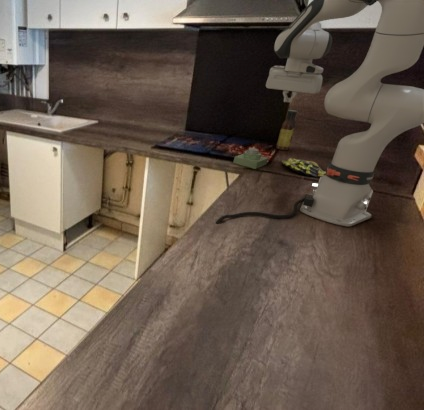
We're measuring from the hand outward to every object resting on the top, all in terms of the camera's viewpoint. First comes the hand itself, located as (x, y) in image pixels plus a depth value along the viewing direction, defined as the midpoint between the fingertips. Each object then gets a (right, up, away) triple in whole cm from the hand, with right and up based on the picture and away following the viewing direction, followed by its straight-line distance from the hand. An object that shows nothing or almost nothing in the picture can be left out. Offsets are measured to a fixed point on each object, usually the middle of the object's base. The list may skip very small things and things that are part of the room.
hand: (287, 102), depth 149 cm
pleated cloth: (+10, -28, +7) cm, 30 cm away
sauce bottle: (+19, -13, +39) cm, 46 cm away
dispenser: (-11, -24, +11) cm, 29 cm away
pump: (-10, -20, +9) cm, 24 cm away
